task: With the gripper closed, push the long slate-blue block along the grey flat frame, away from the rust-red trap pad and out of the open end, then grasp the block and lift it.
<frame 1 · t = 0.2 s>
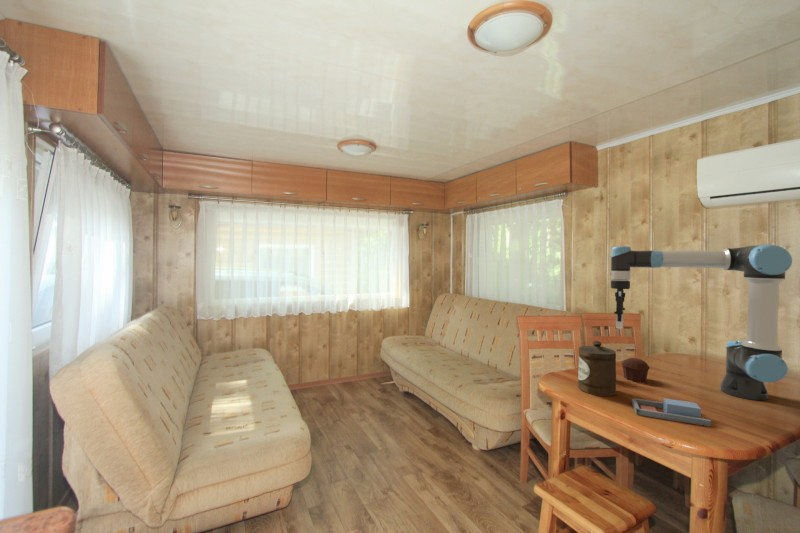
hand: (619, 326, 164), 28 cm above the table, tool pointing down, fingers open, 13 cm apart
muffin: (634, 379, 175), on the table
coffee cup: (598, 378, 176), on the table
grey flat frame: (668, 413, 136), on the table
slate block: (681, 416, 134), resting in grey flat frame
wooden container: (596, 390, 160), on the table
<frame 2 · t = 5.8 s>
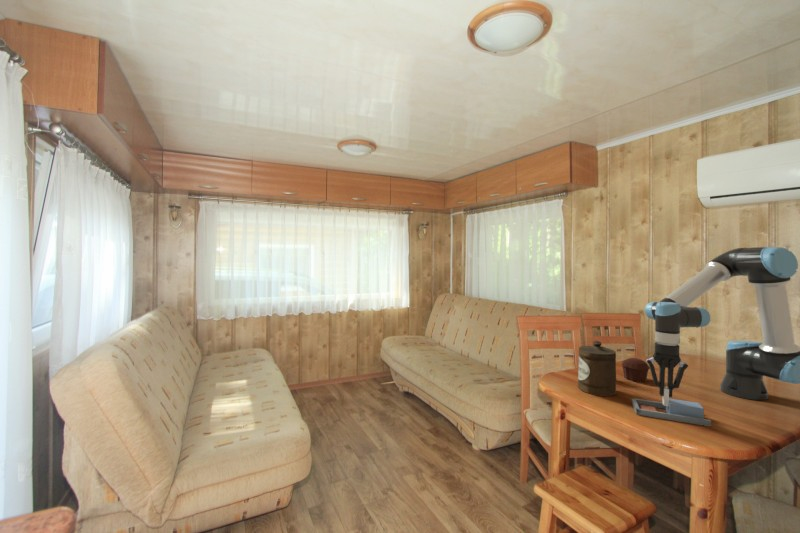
hand: (665, 404, 136), 3 cm above the table, tool pointing down, fingers closed
nothing on the table moved.
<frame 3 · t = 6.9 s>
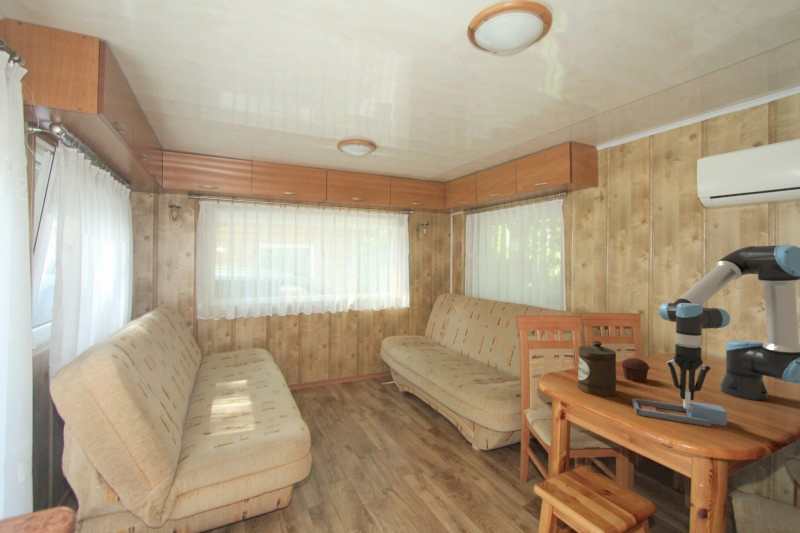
hand: (686, 407, 133), 3 cm above the table, tool pointing down, fingers closed
slate block: (705, 419, 131), on the table
everything else where it was.
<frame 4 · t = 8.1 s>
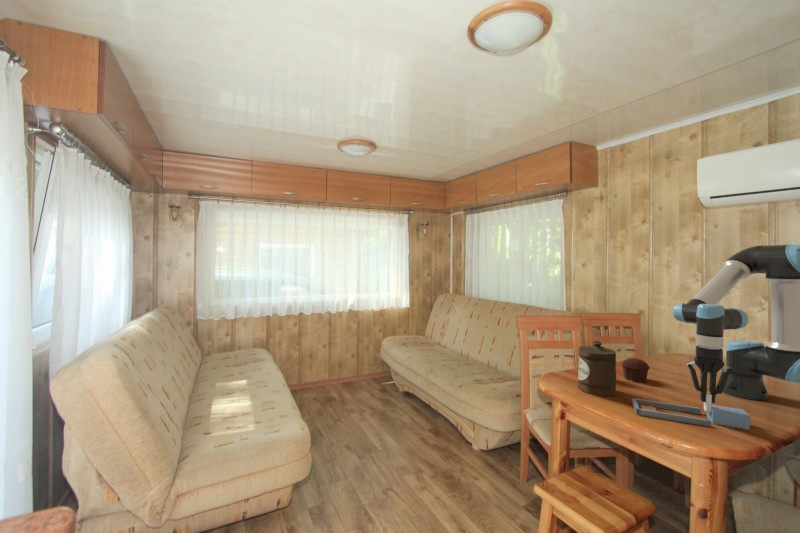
hand: (707, 410, 131), 3 cm above the table, tool pointing down, fingers closed
slate block: (727, 423, 128), on the table, touching gripper
everything else where it was.
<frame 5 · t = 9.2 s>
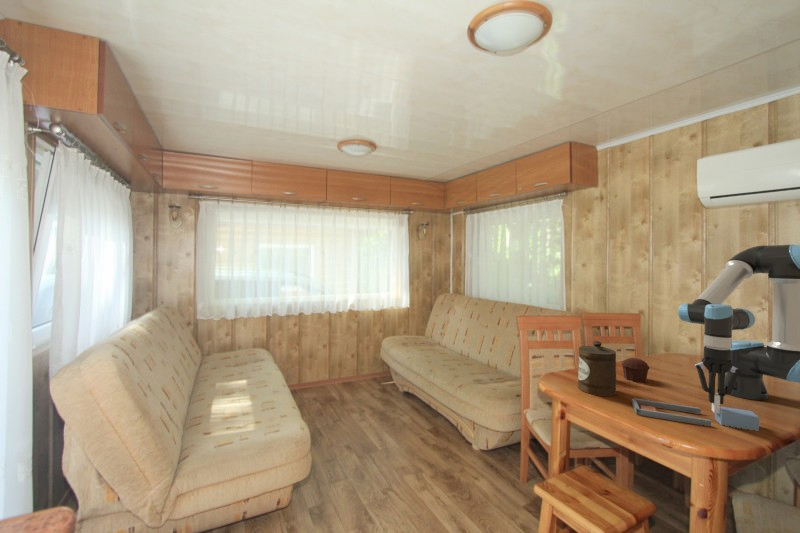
hand: (715, 411, 130), 3 cm above the table, tool pointing down, fingers closed
slate block: (736, 425, 127), on the table
everything else where it was.
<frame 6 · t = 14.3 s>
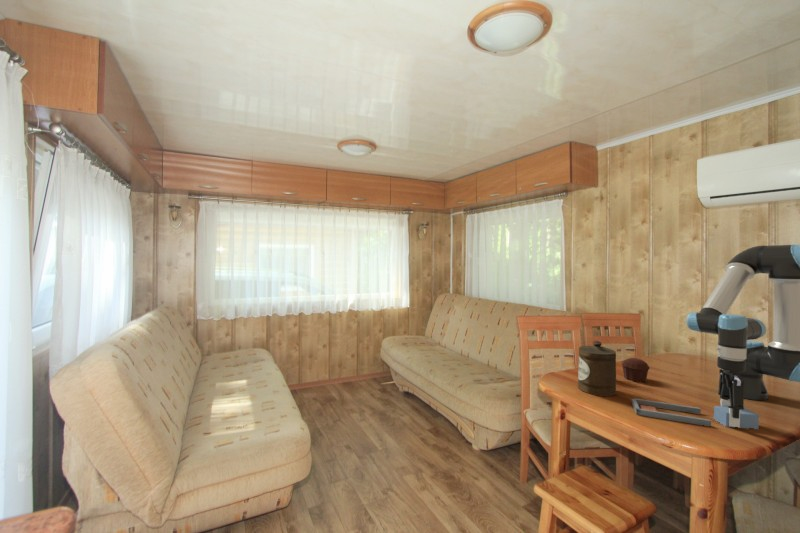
hand: (729, 421, 128), 1 cm above the table, tool pointing down, fingers closed on slate block, 7 cm apart
slate block: (735, 424, 128), on the table, touching gripper
everything else where it was.
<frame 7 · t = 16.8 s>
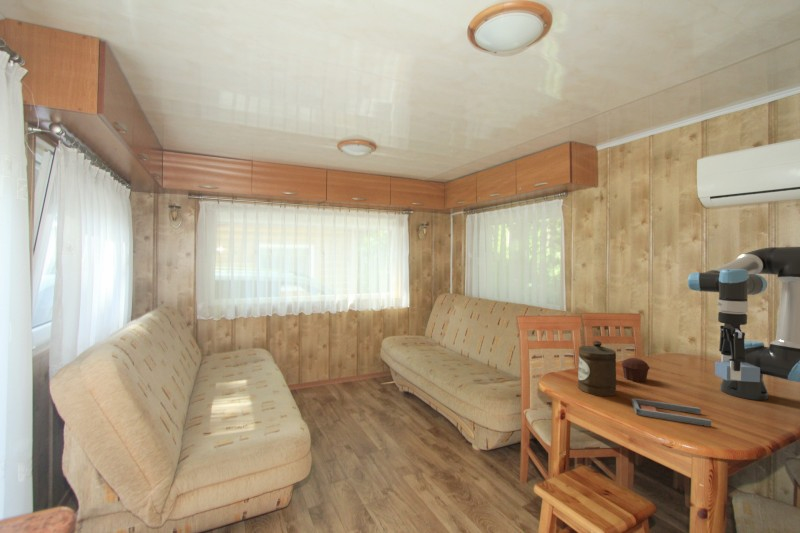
hand: (730, 376, 128), 17 cm above the table, tool pointing down, fingers closed on slate block, 7 cm apart
slate block: (736, 378, 127), point 16 cm above the table, touching gripper
everything else where it was.
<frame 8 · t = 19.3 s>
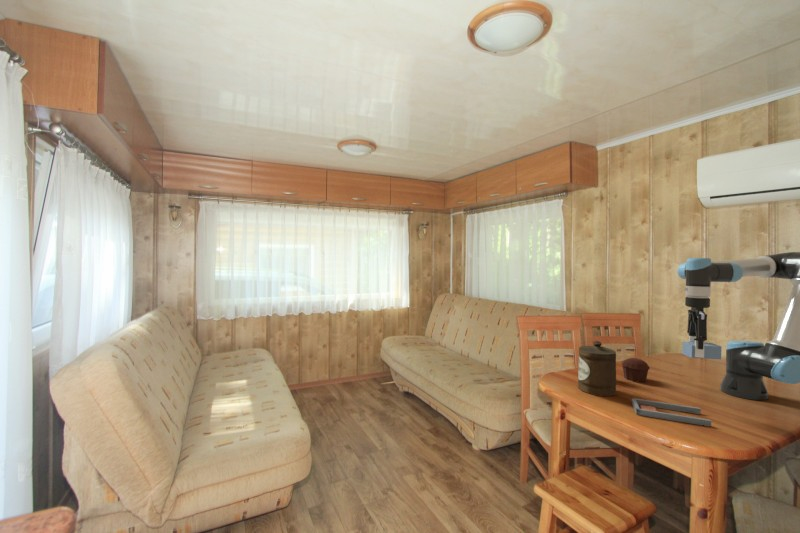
hand: (696, 354, 141), 21 cm above the table, tool pointing down, fingers closed on slate block, 7 cm apart
slate block: (701, 356, 141), point 20 cm above the table, touching gripper
everything else where it was.
at the end: slate block inside the target area (8.2 cm from its centre), point 20.4 cm above the table; the gripper is holding slate block; slate block tilted 0° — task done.
